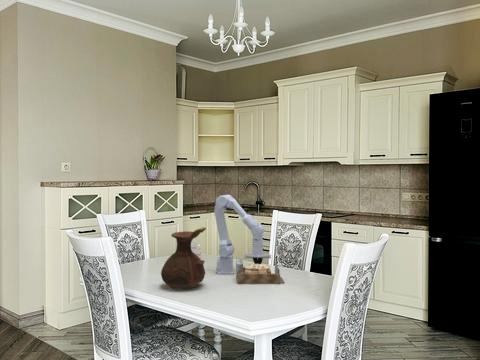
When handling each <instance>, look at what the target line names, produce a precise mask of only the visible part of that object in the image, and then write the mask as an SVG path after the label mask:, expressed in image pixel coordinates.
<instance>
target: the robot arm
mask: <svg viewBox="0 0 480 360" xmlns="http://www.w3.org/2000/svg"><path fill="white" fill-rule="evenodd" d="M228 208H230V209H233V210H234V211H235V212H236V214H237V215H239V216H240V217H241V218H242V222H243V224H244V225H245V226H246V227H247V228H248V229H249V230H250V233H251V235H252V253H250V254H249V253H248V254H244V257H243V258H244V259H252V260H253V264H263V261H264V260H263V259H269V260H270V259H272V255H271V254H265V253H264V252H263V251H264V250H263V249H264V247H263V246H264V232H265V228H264V226H263V225H262V224H260V223H259V222H258V221H257V220H256V219H255V217H254V216H253V215H251V214H248V213H247V212H246V211H245V210H244V209H243V208H242V206H241V205H240V204H239V203H238V201H237V200H236V199H235V198H234V197H233V196H232V195H231V194H225V195H224V194H223V195H222V194H221V195H219V196H218V197H217V198H216V200H215V205H214V208H213V209H214V210H213V211H214V217H215V222H216V226H217V227H216V228H217V232H218V238H219V244H218V255H219V256H217V257H216V267H215V271H216V274H217V275H233V274H234V272H235V271H234V253H235V247H234V245H233V243H232V241H231V239H230V236H229V231H228V226H227V222H226V217H225V211H226V209H228ZM263 253H264V254H263Z"/></svg>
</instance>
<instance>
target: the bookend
mask: <svg viewBox="0 0 480 360" xmlns="http://www.w3.org/2000/svg"><path fill="white" fill-rule="evenodd" d="M274 274H280V268H279V266H278V265H277V264H274ZM285 283H286V282H285V280H284V279H283V277H282V276H280V284H285Z"/></svg>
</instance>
